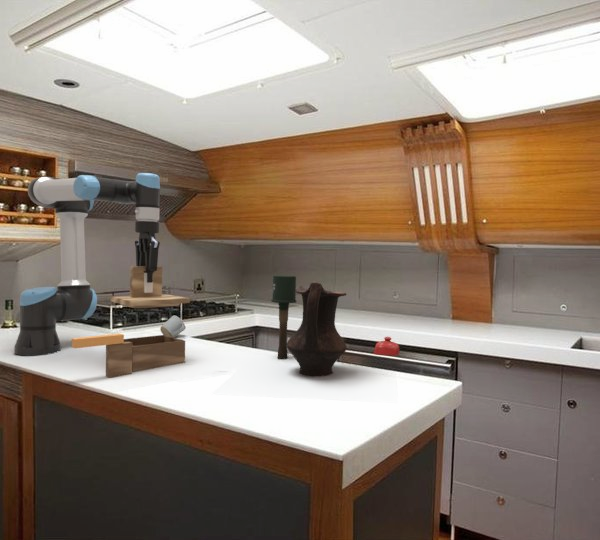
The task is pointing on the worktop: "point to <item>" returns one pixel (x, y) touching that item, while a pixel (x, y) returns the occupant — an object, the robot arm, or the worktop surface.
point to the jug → (317, 332)
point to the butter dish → (387, 348)
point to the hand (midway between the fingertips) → (146, 292)
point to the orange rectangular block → (97, 340)
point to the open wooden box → (143, 354)
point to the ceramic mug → (173, 326)
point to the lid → (147, 299)
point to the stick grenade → (283, 307)
